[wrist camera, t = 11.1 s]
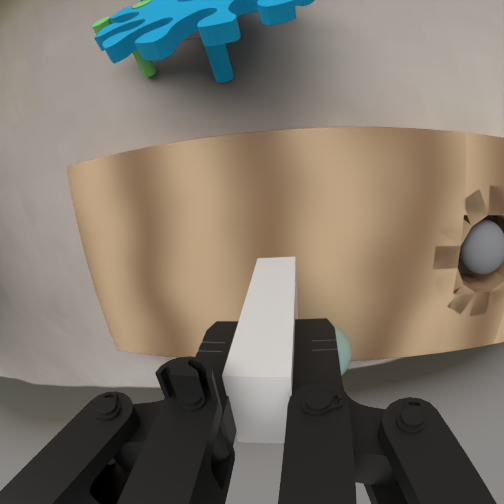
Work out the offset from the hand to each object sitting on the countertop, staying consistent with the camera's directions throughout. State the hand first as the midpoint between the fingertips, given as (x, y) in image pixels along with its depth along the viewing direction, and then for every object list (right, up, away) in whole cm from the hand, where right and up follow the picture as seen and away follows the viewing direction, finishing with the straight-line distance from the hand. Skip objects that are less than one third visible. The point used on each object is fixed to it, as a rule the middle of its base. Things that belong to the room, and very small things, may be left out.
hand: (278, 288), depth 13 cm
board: (+5, +2, +5) cm, 7 cm away
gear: (-3, +14, +1) cm, 15 cm away
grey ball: (+12, +2, +2) cm, 12 cm away
